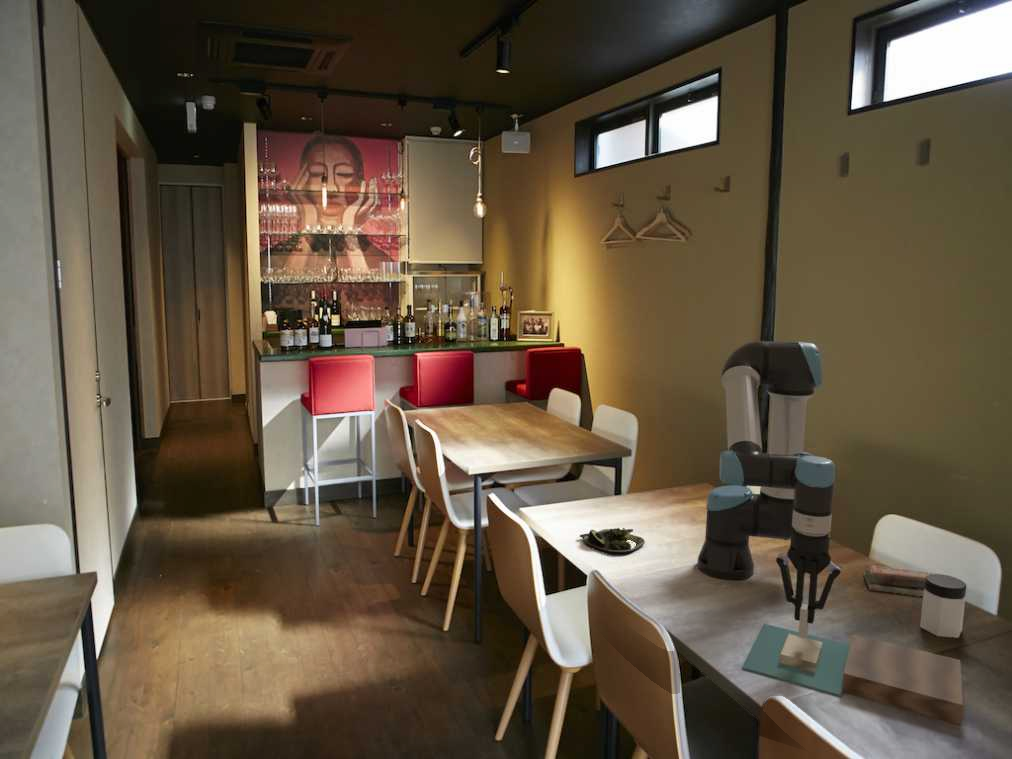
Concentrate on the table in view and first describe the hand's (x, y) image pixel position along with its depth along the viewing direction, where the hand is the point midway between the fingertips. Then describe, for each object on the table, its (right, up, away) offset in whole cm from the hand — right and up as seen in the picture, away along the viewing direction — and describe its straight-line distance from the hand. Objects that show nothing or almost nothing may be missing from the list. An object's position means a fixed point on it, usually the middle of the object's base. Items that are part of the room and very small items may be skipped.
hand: (802, 635), depth 153 cm
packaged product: (+42, -1, +36) cm, 56 cm away
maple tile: (0, -3, 0) cm, 3 cm away
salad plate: (-31, +4, +65) cm, 72 cm away
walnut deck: (+16, -7, -9) cm, 20 cm away
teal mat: (0, -5, +1) cm, 5 cm away
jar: (+38, -4, +14) cm, 41 cm away
